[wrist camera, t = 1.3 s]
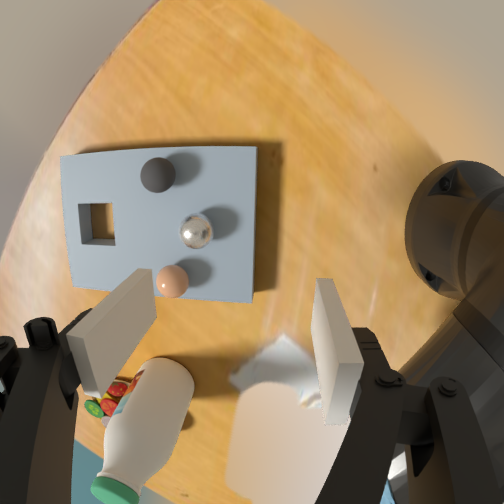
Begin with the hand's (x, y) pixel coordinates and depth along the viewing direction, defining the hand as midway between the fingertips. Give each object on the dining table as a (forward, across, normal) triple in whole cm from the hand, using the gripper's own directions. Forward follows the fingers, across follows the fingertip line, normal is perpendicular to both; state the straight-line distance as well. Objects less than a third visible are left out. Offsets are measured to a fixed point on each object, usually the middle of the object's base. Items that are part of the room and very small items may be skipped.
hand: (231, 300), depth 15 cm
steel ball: (+13, +5, 0) cm, 14 cm away
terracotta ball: (+13, +8, +5) cm, 16 cm away
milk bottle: (+17, +11, +21) cm, 29 cm away
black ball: (+13, +8, -5) cm, 16 cm away
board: (+17, +10, 0) cm, 20 cm away
